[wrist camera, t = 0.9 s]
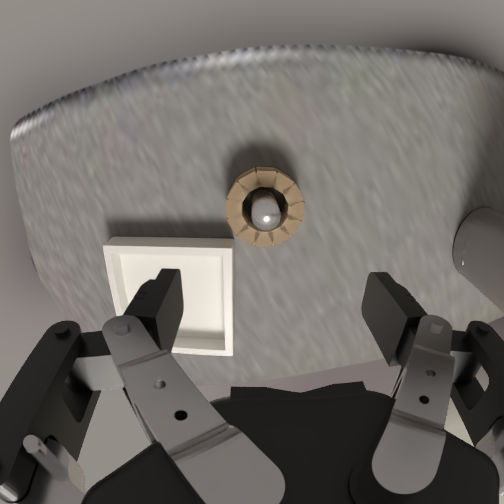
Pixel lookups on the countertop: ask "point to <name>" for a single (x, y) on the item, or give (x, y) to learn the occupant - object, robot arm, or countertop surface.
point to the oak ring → (244, 223)
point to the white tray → (193, 285)
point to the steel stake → (265, 210)
